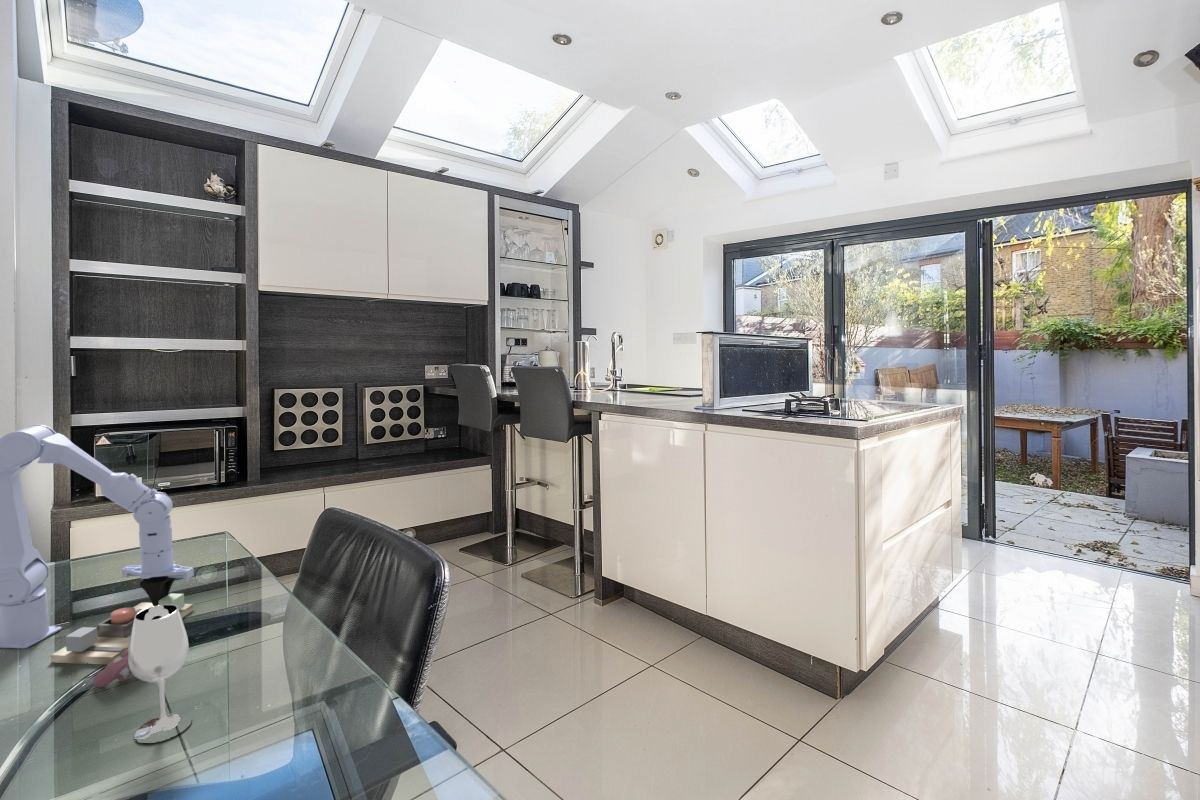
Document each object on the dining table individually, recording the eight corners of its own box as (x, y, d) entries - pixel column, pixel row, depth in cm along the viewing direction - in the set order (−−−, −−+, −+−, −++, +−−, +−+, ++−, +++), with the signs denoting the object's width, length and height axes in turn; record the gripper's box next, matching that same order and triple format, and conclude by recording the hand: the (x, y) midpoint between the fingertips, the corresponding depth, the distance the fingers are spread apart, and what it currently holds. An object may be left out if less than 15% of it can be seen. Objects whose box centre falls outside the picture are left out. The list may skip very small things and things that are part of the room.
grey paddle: (66, 651, 113) (65, 636, 112) (83, 641, 116) (82, 627, 116) (81, 651, 113) (80, 637, 112) (98, 641, 116) (97, 627, 116)
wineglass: (154, 713, 98) (147, 601, 96) (203, 712, 99) (197, 600, 97) (120, 746, 91) (112, 624, 88) (174, 744, 91) (166, 624, 89)
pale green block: (159, 613, 128) (158, 600, 128) (171, 606, 131) (170, 593, 131) (172, 614, 128) (172, 601, 128) (184, 606, 131) (183, 593, 131)
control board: (51, 662, 112) (49, 642, 112) (142, 608, 134) (140, 592, 134) (112, 664, 112) (111, 645, 112) (193, 610, 134) (192, 593, 133)
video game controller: (108, 699, 104) (120, 668, 103) (88, 685, 105) (100, 654, 103) (159, 668, 114) (170, 640, 113) (141, 655, 114) (152, 627, 113)
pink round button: (106, 627, 120) (105, 616, 119) (122, 618, 124) (121, 606, 123) (125, 628, 120) (124, 616, 119) (140, 618, 124) (140, 607, 123)
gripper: (108, 555, 124) (112, 615, 126) (175, 557, 124) (179, 617, 126) (135, 543, 131) (139, 600, 133) (198, 545, 131) (202, 602, 133)
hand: (160, 607), depth 130 cm, fingers closed
